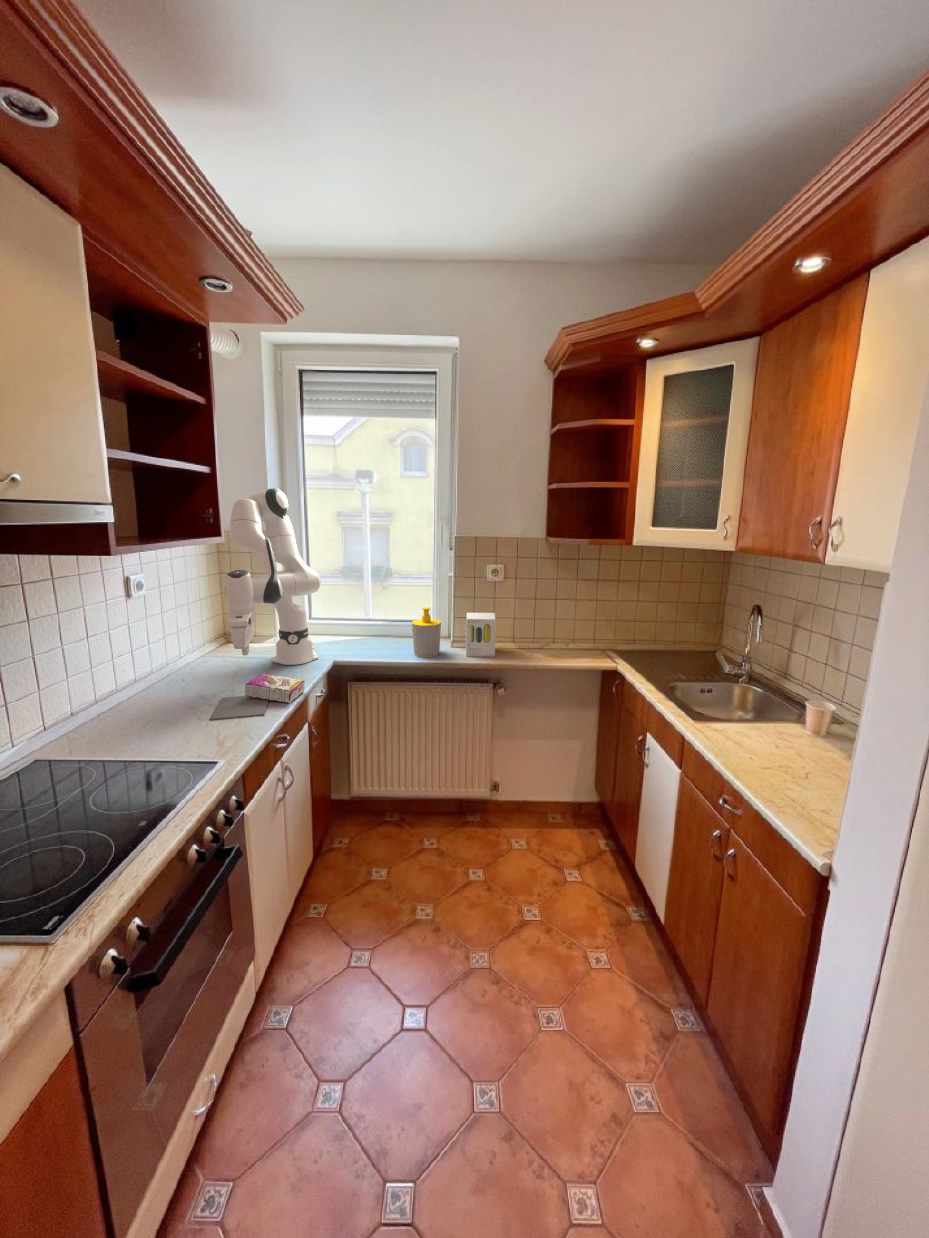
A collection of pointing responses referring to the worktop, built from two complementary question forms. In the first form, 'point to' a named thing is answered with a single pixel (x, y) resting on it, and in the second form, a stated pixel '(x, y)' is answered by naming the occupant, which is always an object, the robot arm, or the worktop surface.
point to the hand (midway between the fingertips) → (245, 654)
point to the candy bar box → (274, 688)
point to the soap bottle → (426, 635)
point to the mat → (239, 707)
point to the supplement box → (480, 634)
